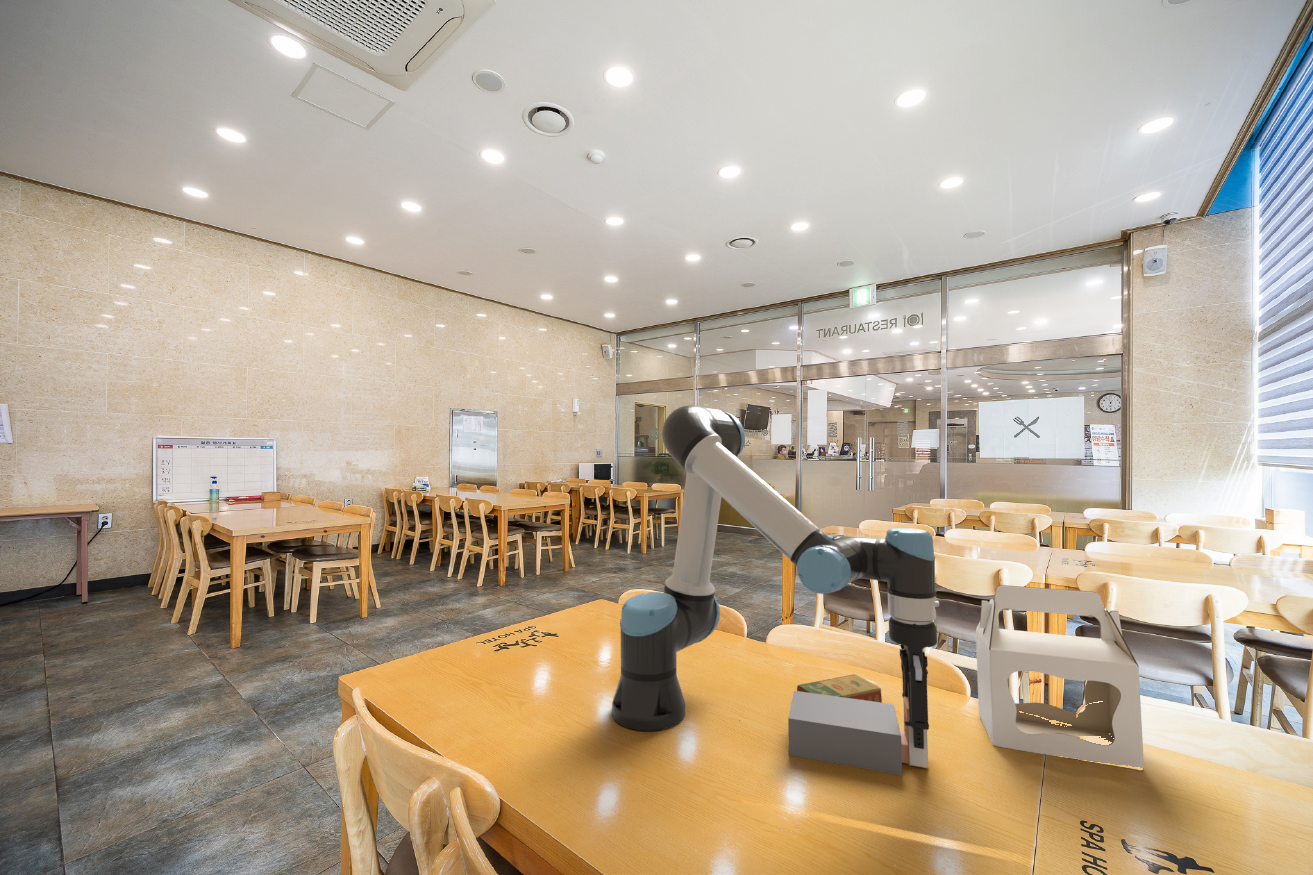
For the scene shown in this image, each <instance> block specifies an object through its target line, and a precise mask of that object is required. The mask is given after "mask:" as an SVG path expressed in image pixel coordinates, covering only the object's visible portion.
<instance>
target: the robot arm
mask: <svg viewBox="0 0 1313 875" xmlns="http://www.w3.org/2000/svg"><path fill="white" fill-rule="evenodd" d="M661 432H662V433H661V435H662V436H661V439H662V442H663V446H664V447H665V449H666V451H667V453H668V454H669V455H670V456H671V458H672V459H673V460H674V461H676V463H677V464H678V465H679V466H680V467H681V468H683V470H684V471H685V472H686V475H685V484H684V491H683V497H682V499H683V500H682V505H681V512H680V518H679V525H678V526H679V527H678V532H677V533H678V534H677V541H676V549H675V553H674V554H675V557H674V563H673V569H672V570H673V571H672V575H670V576H669V577H668V578H666V579H665V582H664V588H663V592H659V591H658V592H655V591H654V592H653V591H652V592H648V593H641V594H637V595H633V596H632V597H629V598H628V599H627V600H626V601H625V602H624V603H623V605H622V606H621V613H620V620H619V627H620V676H619V680H618V683H617V686H616V689H615V693H614V695H613V699H612V704H611V714H612V718H613V720H614V721H615V722H616V723H617V724H618V725H620V726H622V727H624V728H628V729H630V730H634V731H646V732H647V731H648V732H651V731H661V730H666V729H669V728H672V727H674V726H675V727H676V725H678V724H680V723H681V722H682V721H683V720H684V718H685V717H686V701H685V697H684V695H683V692H682V689H681V685H680V682H679V681H680V680H679V678H678V676H677V675H678V674H677V673H678V672H677V671H678V670H677V653H678V652H679V651H681V650H684V649H687V648H688V647H690V646H692V645H694V644H697V643H700V642H702V641H704V640H706V639H707V638H708V637H709V636H711V634H713V633H714V631H715V630H716V629H717V627H718V625H719V622H720V617H721V609H720V603H719V602H718V601H717V597H716V595H715V593H716V588H715V586H714V585H713V583H712V582H711V574H712V567H713V566H712V565H713V558H714V553H715V547H716V546H715V545H716V538H717V532H718V524H719V517H720V511H721V510H720V509H721V503H722V502H721V501H722V499H724V501H726V502H727V503H728V504H729V505H730V506H731V507H732V508H733V509H734V510H735V511H737V513H738V514H740V515H741V517H743V518H744V519H745V520H746V521H747V522H748V523H749V524H751V526H752V527H754V528H755V529H756V530H757V531H758V532H759V533H760V534H761V535H762V536H763V537H764V538H765V539H766V540H767V541H769V542H770V543H771V544H772V545H773V546H774V548H776V549H778V550H779V552H780V553H782V554H783V555H784V556H785V557H786V558H787V559H788V560H789V561H790V562H792V564H793V565H794V566H795V567H796V572H797V575H798V578H799V580H800V583H802V585H803V587H805V588H807V589H808V591H811V592H812V593H814V594H820V595H827V594H831V593H834V592H838V591H840V590H842V589H843V588H845V587H846V586H847V585H849V584H850V583H853V582H854V581H856V580H858V579H863V580H873V581H879V582H887V613H888V615H889V616H890V617H889V618H888V637H889V639H890V640H891V641H893V642H895V643H896V644H899V645H900V648H899V658H900V665H901V666H900V669H901V672H902V674H901V676H902V694H901V696H902V698H903V697H908V701H909V719H910V720H909V722H908V721H905V726H908V735H909V763H910V765H913V766H912V767H916V766H919V767H918V768H922V767H925V768H924V769H929V755H928V756H927V744H928V730H929V728H930V724H929V706H928V704H929V702H928V673H929V671H928V669H927V667H928V656H927V655H926V653H925V651H924V650H923V649H925V648H932V647H934V646H936V645H937V643H938V634H937V633H938V632H937V630H938V629H937V628H938V627H937V623H936V622H935V620H936V618H937V611H936V608H938V607H939V606H940V602H939V600H936V565H935V564H936V556H935V552H934V539H933V535H932V534H931V533H930V532H929V531H927V530H925V529H921V528H919V529H917V528H911V527H910V528H908V527H907V528H903V527H899V528H898V527H893V528H889V529H888V530H887V531H886V536H885V538H884V537H883V538H874V537H873V538H872V537H864V536H863V537H861V536H849V535H844V534H833V535H832V534H831V535H830V534H826V533H825V532H823V531H822V530H821V529H820V528H819V527H818V526H817V525H816V524H815V523H813V522H812V521H811V520H810V519H809V518H808V517H807V516H805V515H804V514H803V512H800V511H799V510H798V509H797V508H796V507H795V506H793V505H792V504H791V503H790V502H789V501H788V500H786V498H785V497H784V496H782V495H781V494H779V493H778V492H777V490H775V489H774V488H773V487H772V486H770V485H769V484H768V483H767V482H766V481H764V480H763V479H762V478H761V477H760V476H759V475H758V474H756V473H755V472H754V471H753V470H752V469H751V468H749V466H748V465H746V464H745V463H744V462H742V461H741V460H740V459H739V458H738V456H739V455H740V454H741V453H742V451H743V449H744V447H745V444H746V434H745V428H744V427H743V424H742V423H741V422H740V420H739V419H738V418H737V417H736V416H735V415H733V414H732V413H730V412H727V411H725V410H721V409H717V408H715V409H714V408H710V407H702V406H698V405H683V406H680V407H678V408H676V409H674V410H673V411H671V413H670V414H669V415H668V416H667V417H666V419H665V421H664V422H663V426H662V431H661ZM910 765H909V766H910Z"/></svg>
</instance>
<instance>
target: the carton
mask: <svg viewBox="0 0 1313 875" xmlns="http://www.w3.org/2000/svg"><path fill="white" fill-rule="evenodd" d="M796 691H800V692H807V693H814V694H822V695H829V696H836V697H844V698H851V699H858V700H866V701H873V702H880V703H883V698H882V688H881V687H880V686H878V685H876V684H874V683H873V682H870V681H869V680H867V679H866V678H863V677H861V676H859V675H858V674H849V675H848V674H847V675H844V676H839V677H838V676H837V677H834V678H828V679H823V680H817V681H812V682H811V681H810V682H807V683H802V684H797V688H796Z"/></svg>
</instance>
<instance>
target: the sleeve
mask: <svg viewBox="0 0 1313 875" xmlns="http://www.w3.org/2000/svg"><path fill="white" fill-rule="evenodd" d="M791 698H792V699H791V703H790V707H789V713H788V719H787V720H788V721H787V722H788V723H787V725H788V730H787V731H788V755H789V756H792V757H796V758H804V759H809V760H814V761H815V760H816V761H818V762H825V763H831V764H837V765H843V766H849V767H853V768H860V769H866V770H872V771H875V772H877V771H878V772H882V773H888V774H893V775H899V776H903V763H902V747H901V733H900V731H901V729H900V725H899V720H898V717H897V712H896V708H895V704H893V703H888V702H887V703H886V702H882V703H880V702H873V701H866V700H858V699H851V698H844V697H836V696H829V695H822V694H814V693H807V692H800V691H797V690H793V694H792V697H791Z"/></svg>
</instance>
